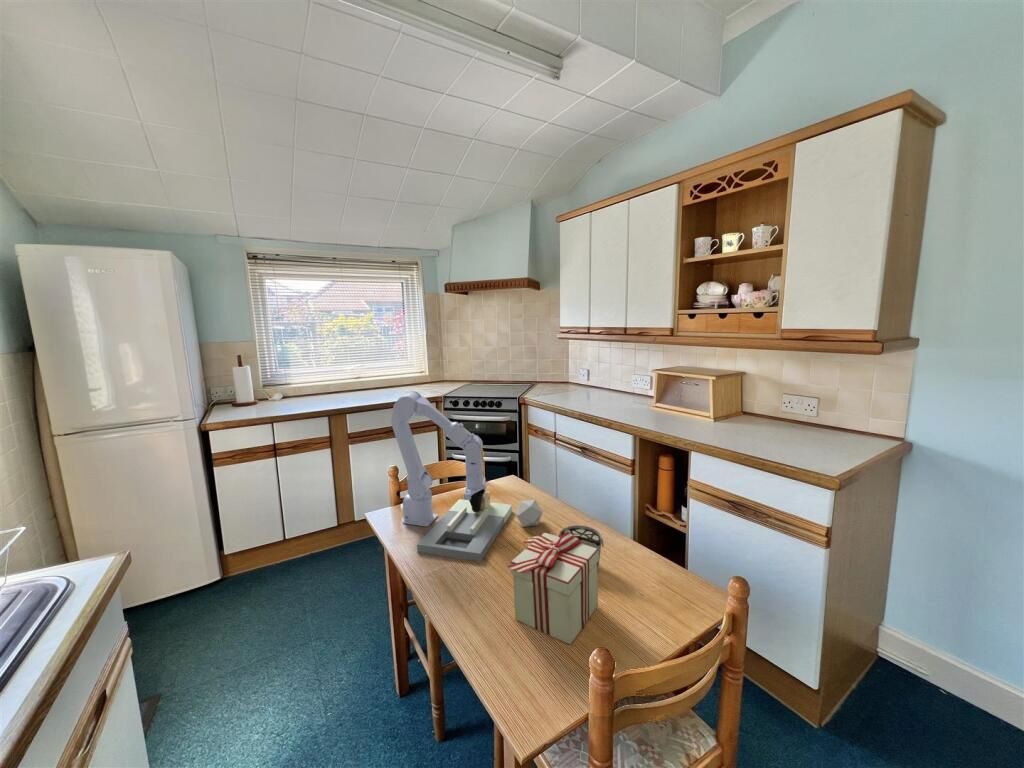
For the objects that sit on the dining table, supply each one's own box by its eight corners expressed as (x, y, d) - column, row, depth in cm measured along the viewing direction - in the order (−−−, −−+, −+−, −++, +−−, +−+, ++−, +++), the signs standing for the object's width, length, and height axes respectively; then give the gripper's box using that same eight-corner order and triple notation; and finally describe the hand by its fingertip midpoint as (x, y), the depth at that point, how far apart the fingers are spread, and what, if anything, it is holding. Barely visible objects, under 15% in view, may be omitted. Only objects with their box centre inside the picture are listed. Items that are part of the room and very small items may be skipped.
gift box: (532, 580, 110) (530, 519, 107) (600, 603, 100) (601, 537, 97) (497, 622, 95) (494, 553, 92) (573, 654, 86) (573, 577, 83)
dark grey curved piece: (607, 562, 116) (608, 529, 115) (602, 575, 111) (603, 540, 109) (565, 553, 121) (564, 521, 120) (558, 564, 116) (558, 531, 114)
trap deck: (417, 552, 124) (416, 538, 123) (459, 505, 153) (459, 494, 153) (480, 561, 118) (480, 547, 118) (512, 511, 148) (511, 499, 147)
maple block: (471, 509, 144) (471, 496, 144) (477, 503, 149) (476, 490, 148) (485, 511, 143) (484, 497, 142) (490, 504, 148) (489, 491, 147)
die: (537, 534, 133) (549, 506, 136) (513, 522, 133) (526, 494, 135) (531, 531, 141) (543, 504, 144) (508, 519, 141) (521, 493, 143)
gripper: (477, 482, 132) (479, 522, 134) (493, 465, 145) (494, 502, 148) (457, 480, 134) (459, 520, 136) (474, 464, 147) (475, 500, 150)
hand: (476, 510), depth 142 cm, fingers closed
